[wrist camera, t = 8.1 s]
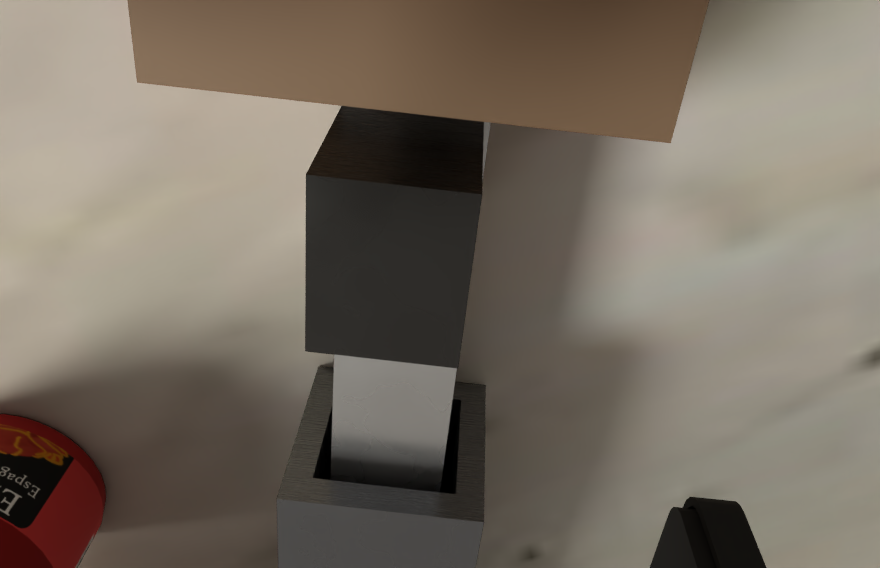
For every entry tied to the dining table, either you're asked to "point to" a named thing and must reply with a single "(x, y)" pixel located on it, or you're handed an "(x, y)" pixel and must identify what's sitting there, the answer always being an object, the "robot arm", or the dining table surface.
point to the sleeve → (382, 498)
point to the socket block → (437, 57)
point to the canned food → (45, 497)
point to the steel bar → (392, 284)
